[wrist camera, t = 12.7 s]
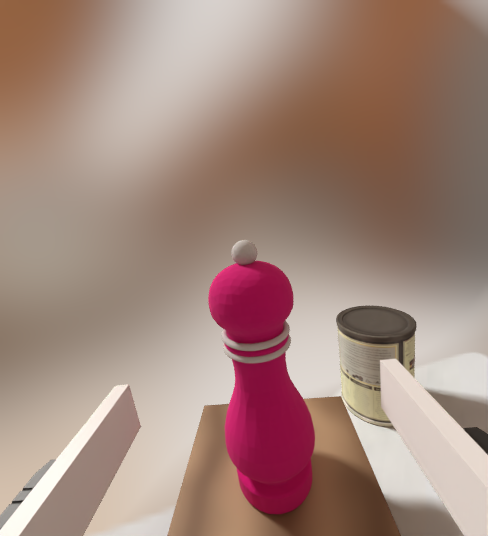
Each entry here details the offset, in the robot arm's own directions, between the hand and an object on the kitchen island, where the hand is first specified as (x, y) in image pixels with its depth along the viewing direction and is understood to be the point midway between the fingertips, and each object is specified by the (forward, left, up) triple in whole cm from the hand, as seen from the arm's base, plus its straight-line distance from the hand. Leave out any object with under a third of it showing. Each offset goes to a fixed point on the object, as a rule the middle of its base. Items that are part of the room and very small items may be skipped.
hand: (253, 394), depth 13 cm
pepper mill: (0, +6, -13) cm, 14 cm away
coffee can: (+16, +24, -23) cm, 37 cm away
